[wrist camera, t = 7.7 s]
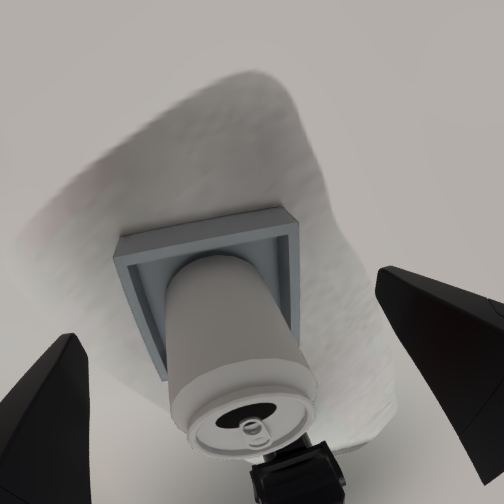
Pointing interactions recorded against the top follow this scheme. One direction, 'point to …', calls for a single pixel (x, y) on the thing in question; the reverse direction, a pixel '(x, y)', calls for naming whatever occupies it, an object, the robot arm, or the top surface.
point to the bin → (204, 245)
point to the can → (233, 362)
